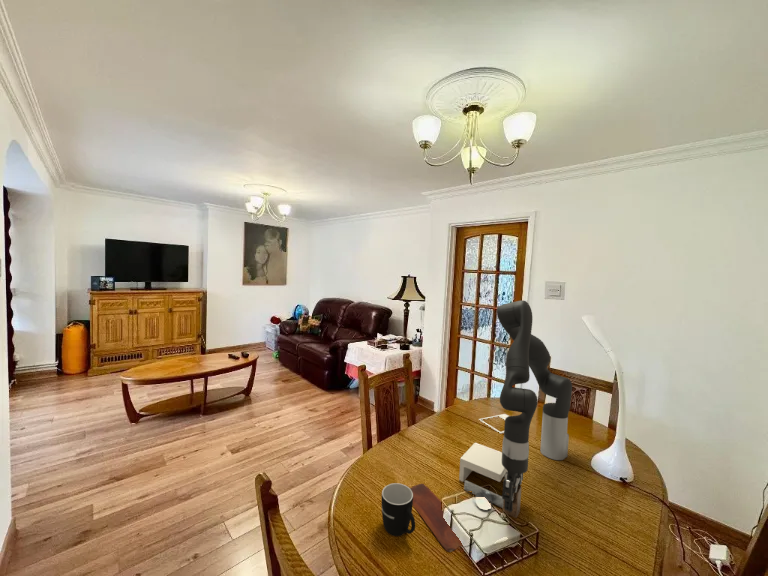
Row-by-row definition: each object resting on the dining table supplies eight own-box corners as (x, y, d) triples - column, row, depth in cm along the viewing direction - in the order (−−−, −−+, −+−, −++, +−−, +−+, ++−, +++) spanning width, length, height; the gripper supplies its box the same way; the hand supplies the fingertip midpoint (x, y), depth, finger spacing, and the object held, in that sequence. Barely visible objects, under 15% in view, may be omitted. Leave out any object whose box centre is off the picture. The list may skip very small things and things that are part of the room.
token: (476, 497, 104) (477, 490, 104) (492, 503, 102) (493, 495, 102) (473, 507, 100) (474, 499, 100) (490, 513, 97) (490, 505, 97)
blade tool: (519, 510, 99) (521, 486, 98) (516, 518, 96) (517, 492, 95) (466, 486, 109) (468, 463, 109) (462, 492, 106) (463, 469, 106)
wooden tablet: (477, 544, 86) (477, 538, 86) (447, 556, 82) (447, 550, 82) (425, 483, 111) (426, 479, 111) (400, 490, 106) (400, 486, 106)
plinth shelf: (511, 477, 115) (512, 456, 115) (498, 498, 104) (500, 474, 104) (474, 462, 124) (475, 442, 123) (459, 480, 112) (460, 458, 112)
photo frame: (527, 425, 155) (500, 432, 147) (527, 428, 155) (500, 434, 147) (504, 413, 168) (478, 418, 160) (504, 415, 168) (478, 420, 161)
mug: (374, 523, 91) (375, 490, 91) (398, 511, 97) (399, 479, 96) (400, 554, 82) (401, 517, 81) (425, 538, 87) (427, 503, 86)
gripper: (509, 438, 105) (506, 485, 106) (495, 457, 94) (492, 509, 95) (533, 446, 101) (530, 495, 101) (522, 467, 89) (518, 522, 90)
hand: (512, 502), depth 98 cm, fingers open, 8 cm apart
